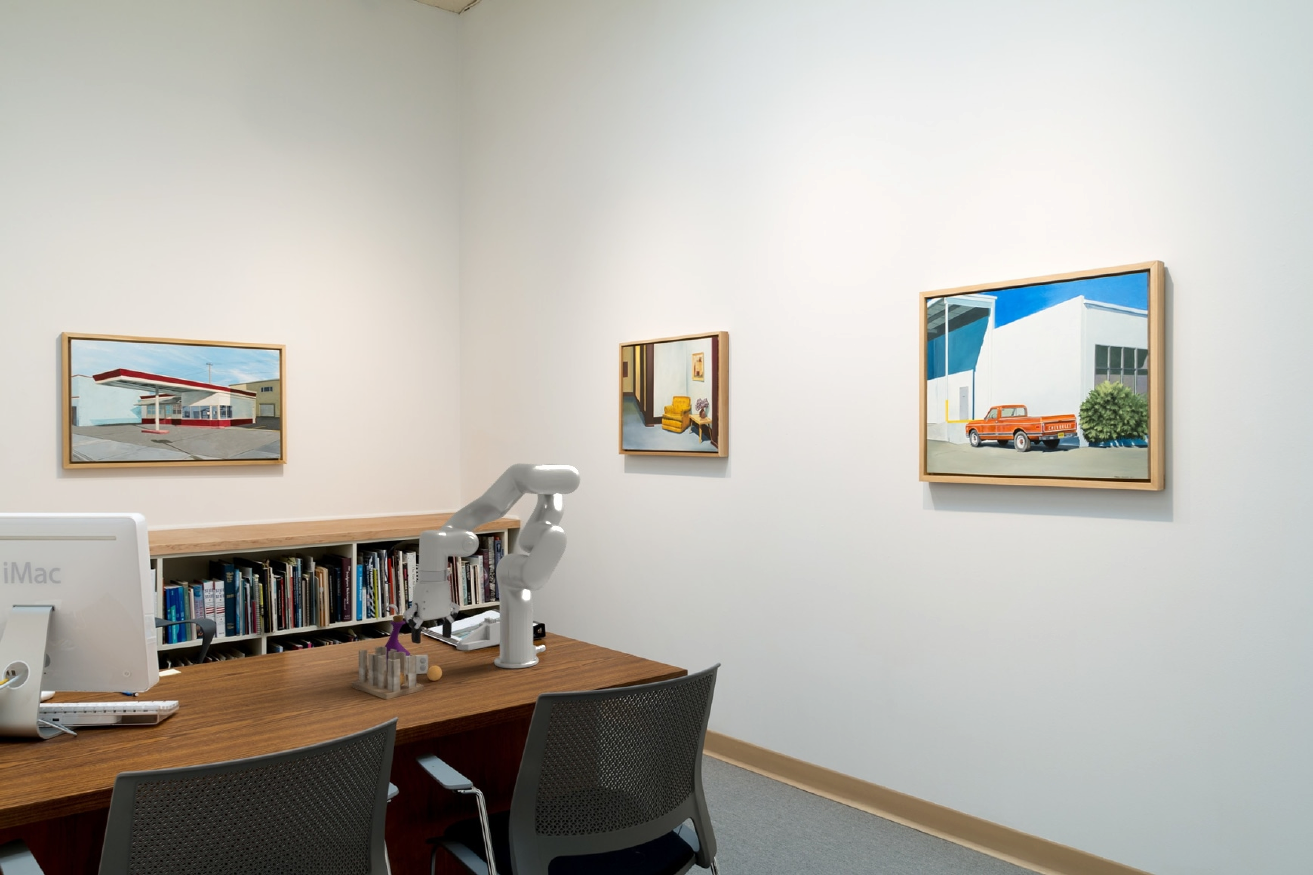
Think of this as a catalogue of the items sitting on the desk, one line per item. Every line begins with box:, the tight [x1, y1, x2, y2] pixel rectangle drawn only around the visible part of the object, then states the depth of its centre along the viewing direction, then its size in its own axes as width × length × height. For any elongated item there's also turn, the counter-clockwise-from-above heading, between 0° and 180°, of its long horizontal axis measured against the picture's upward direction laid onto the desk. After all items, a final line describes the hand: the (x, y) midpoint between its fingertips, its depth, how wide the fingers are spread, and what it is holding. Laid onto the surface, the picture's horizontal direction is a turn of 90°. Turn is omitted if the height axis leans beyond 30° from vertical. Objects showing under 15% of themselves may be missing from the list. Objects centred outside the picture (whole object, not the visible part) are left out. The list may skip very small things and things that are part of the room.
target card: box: [406, 654, 429, 676], centre depth 250 cm, size 1×8×5 cm, turn 105°
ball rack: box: [350, 645, 425, 700], centre depth 236 cm, size 11×17×9 cm, turn 49°
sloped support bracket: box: [456, 616, 500, 651], centre depth 284 cm, size 6×18×8 cm, turn 136°
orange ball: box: [426, 664, 443, 682], centre depth 243 cm, size 4×4×4 cm
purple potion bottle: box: [384, 603, 411, 671], centre depth 257 cm, size 8×8×18 cm
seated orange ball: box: [400, 672, 405, 686], centre depth 233 cm, size 4×4×4 cm
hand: (431, 640), depth 243 cm, fingers open, 9 cm apart
